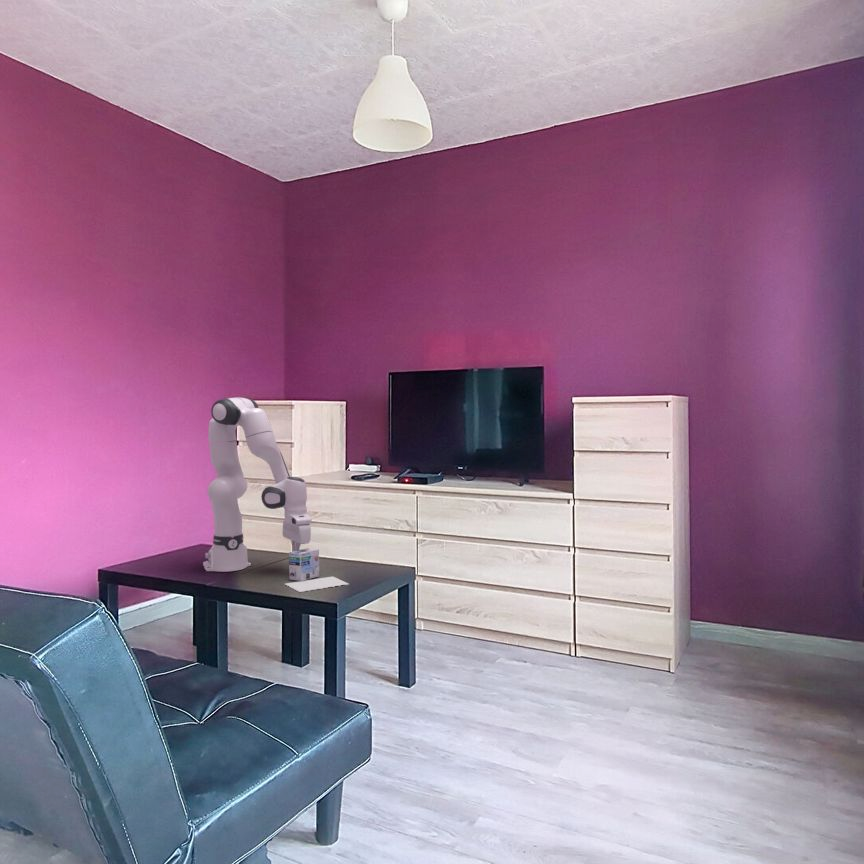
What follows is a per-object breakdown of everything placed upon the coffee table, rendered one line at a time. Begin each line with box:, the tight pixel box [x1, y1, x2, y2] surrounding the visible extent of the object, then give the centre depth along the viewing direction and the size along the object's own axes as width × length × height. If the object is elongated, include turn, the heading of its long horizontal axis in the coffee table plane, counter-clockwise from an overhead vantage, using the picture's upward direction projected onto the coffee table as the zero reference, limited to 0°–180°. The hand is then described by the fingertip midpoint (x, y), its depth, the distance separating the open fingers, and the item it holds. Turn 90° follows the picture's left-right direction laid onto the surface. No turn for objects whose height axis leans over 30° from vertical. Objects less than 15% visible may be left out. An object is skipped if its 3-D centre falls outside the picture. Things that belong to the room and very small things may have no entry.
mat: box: [284, 576, 350, 594], centre depth 250 cm, size 14×20×1 cm
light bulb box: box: [288, 547, 320, 582], centre depth 260 cm, size 11×7×11 cm, turn 149°
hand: (296, 551), depth 266 cm, fingers closed
